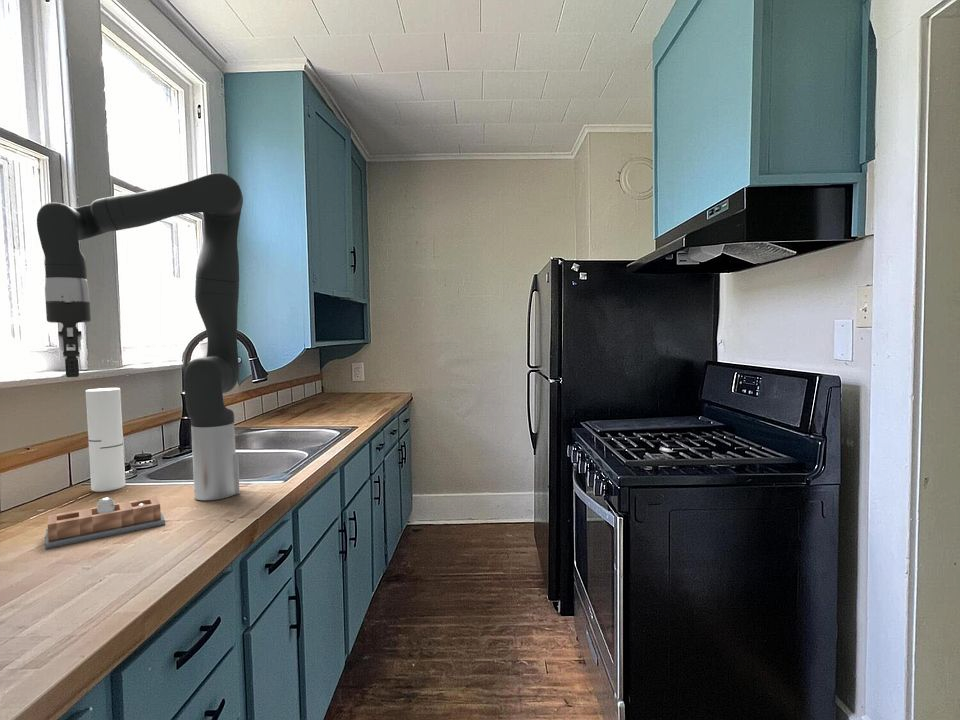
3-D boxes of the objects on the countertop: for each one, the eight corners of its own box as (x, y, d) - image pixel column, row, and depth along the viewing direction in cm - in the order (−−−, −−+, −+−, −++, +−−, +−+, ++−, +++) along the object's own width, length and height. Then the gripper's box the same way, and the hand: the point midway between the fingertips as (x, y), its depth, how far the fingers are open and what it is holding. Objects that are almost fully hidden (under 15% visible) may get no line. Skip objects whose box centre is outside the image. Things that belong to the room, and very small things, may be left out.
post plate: (159, 512, 116) (157, 483, 116) (165, 524, 109) (163, 493, 109) (46, 534, 105) (44, 502, 104) (45, 548, 98) (43, 514, 97)
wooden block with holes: (48, 540, 99) (47, 524, 99) (49, 530, 104) (48, 515, 104) (160, 518, 110) (160, 504, 110) (156, 510, 115) (156, 496, 115)
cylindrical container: (102, 483, 139) (97, 388, 137) (131, 482, 140) (126, 387, 138) (84, 492, 132) (78, 391, 130) (115, 491, 132) (109, 390, 131)
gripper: (46, 301, 118) (51, 374, 119) (44, 298, 106) (49, 379, 107) (88, 302, 122) (92, 372, 123) (90, 299, 111) (95, 376, 112)
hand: (72, 375), depth 115 cm, fingers open, 8 cm apart
